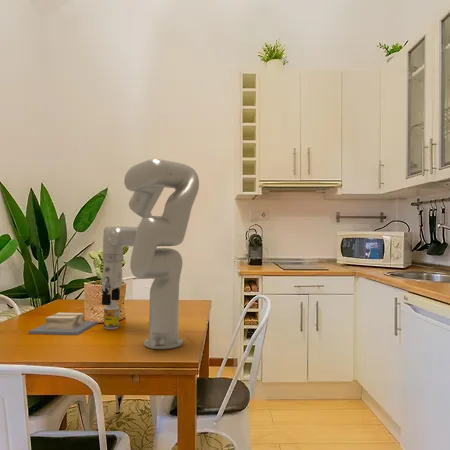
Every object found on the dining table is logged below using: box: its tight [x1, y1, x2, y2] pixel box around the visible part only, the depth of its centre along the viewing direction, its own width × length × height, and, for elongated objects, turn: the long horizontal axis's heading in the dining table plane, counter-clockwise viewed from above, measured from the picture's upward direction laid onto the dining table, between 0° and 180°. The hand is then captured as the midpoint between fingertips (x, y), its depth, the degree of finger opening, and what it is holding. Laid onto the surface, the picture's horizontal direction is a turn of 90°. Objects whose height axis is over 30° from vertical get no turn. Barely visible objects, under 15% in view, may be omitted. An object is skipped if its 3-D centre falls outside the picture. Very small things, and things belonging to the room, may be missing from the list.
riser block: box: [44, 311, 85, 329], centre depth 145 cm, size 10×10×4 cm
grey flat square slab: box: [28, 320, 98, 336], centre depth 145 cm, size 18×18×1 cm
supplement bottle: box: [103, 300, 120, 330], centre depth 147 cm, size 6×6×10 cm
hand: (110, 302), depth 148 cm, fingers open, 9 cm apart
